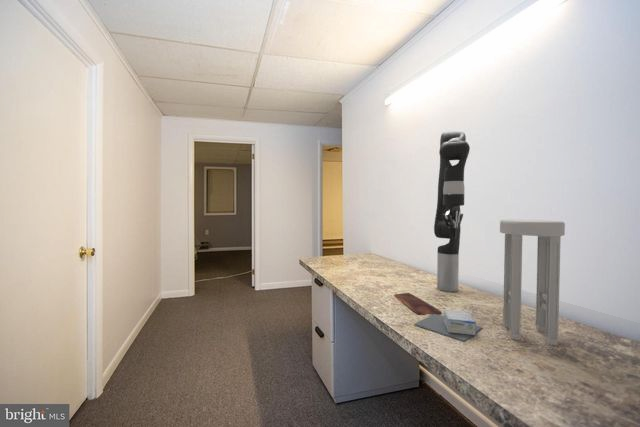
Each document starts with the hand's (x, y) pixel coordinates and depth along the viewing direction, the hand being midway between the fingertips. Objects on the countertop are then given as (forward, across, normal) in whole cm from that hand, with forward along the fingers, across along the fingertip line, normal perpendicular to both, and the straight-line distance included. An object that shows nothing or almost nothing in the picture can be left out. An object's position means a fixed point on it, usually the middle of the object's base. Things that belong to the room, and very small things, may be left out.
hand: (453, 237), depth 115 cm
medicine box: (+24, +17, +9) cm, 31 cm away
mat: (+27, +21, +8) cm, 35 cm away
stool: (+27, +8, +27) cm, 39 cm away
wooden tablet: (+28, +8, -12) cm, 31 cm away
